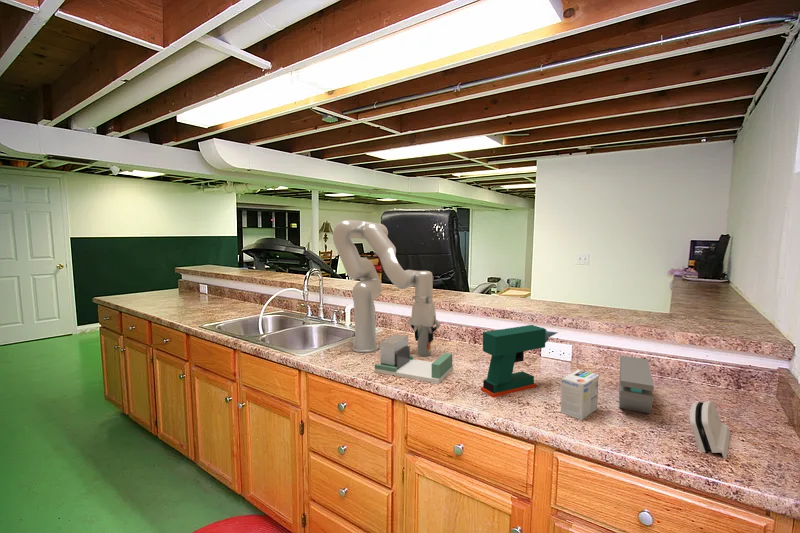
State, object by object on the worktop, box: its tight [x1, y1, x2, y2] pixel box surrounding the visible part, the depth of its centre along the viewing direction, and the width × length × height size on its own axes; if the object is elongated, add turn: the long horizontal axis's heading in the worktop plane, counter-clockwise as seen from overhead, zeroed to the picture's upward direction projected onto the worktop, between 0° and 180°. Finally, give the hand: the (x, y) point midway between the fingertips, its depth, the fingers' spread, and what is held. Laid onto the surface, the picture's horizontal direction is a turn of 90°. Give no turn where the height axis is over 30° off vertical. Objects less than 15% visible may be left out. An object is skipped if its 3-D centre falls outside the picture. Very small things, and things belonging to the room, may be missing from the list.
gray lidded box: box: [618, 355, 655, 414], centre depth 118 cm, size 25×8×11 cm, turn 150°
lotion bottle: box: [417, 324, 432, 358], centre depth 165 cm, size 6×6×20 cm
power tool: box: [480, 324, 559, 398], centre depth 132 cm, size 32×7×20 cm, turn 115°
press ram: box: [379, 333, 411, 370], centre depth 150 cm, size 7×12×10 cm, turn 153°
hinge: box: [689, 400, 731, 460], centre depth 97 cm, size 17×5×10 cm, turn 137°
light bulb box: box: [560, 369, 600, 421], centre depth 113 cm, size 11×7×11 cm, turn 131°
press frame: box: [374, 352, 454, 385], centre depth 147 cm, size 26×16×6 cm, turn 63°
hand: (424, 340), depth 165 cm, fingers closed on lotion bottle, 5 cm apart
